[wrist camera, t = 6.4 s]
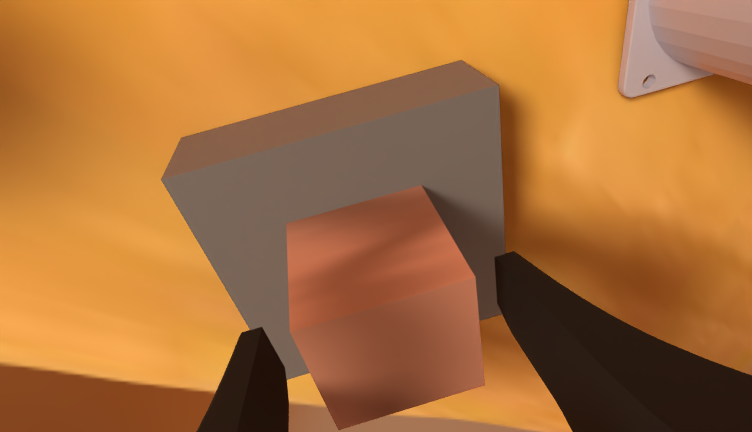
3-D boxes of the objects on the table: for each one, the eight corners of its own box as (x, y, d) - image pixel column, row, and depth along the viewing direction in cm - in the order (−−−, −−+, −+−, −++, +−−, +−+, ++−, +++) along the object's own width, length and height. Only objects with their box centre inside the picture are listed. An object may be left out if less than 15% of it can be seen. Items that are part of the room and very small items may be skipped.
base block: (461, 60, 15) (498, 84, 12) (479, 267, 20) (507, 312, 18) (181, 138, 14) (161, 179, 12) (280, 326, 20) (280, 381, 17)
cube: (421, 185, 14) (475, 277, 10) (437, 282, 16) (484, 384, 12) (286, 223, 13) (289, 332, 10) (324, 316, 16) (338, 430, 12)
